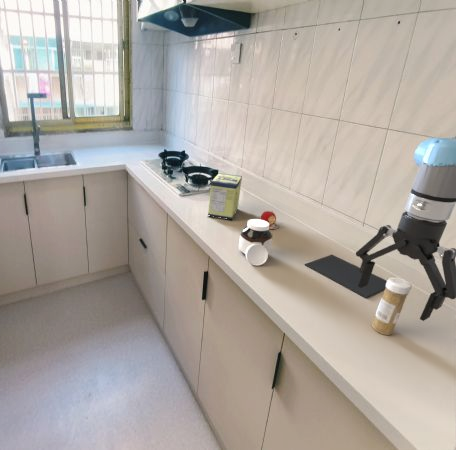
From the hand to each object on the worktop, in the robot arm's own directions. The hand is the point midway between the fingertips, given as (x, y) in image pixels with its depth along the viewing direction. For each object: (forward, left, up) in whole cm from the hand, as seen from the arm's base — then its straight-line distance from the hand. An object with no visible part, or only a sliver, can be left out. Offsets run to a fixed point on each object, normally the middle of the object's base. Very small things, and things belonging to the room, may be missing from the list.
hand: (391, 301), depth 78 cm
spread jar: (+40, +2, -8) cm, 41 cm away
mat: (+19, -16, -8) cm, 26 cm away
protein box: (+76, -15, -8) cm, 78 cm away
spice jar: (0, 0, -8) cm, 8 cm away
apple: (+57, -22, -8) cm, 62 cm away
